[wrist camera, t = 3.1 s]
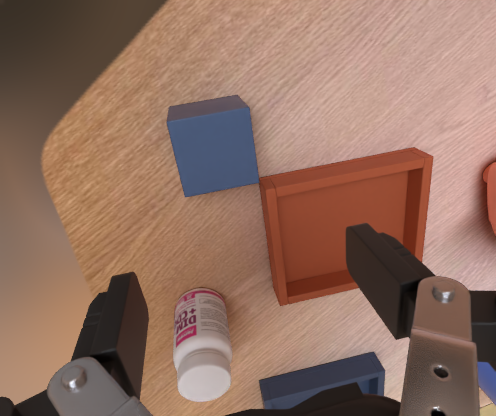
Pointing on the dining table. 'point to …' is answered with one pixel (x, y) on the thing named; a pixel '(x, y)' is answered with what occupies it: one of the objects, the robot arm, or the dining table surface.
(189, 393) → the pill bottle
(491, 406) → the slatted curved stool
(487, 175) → the teapot
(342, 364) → the blue tray
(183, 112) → the blue block
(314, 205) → the terracotta tray
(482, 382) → the water bottle
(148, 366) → the dining table surface
